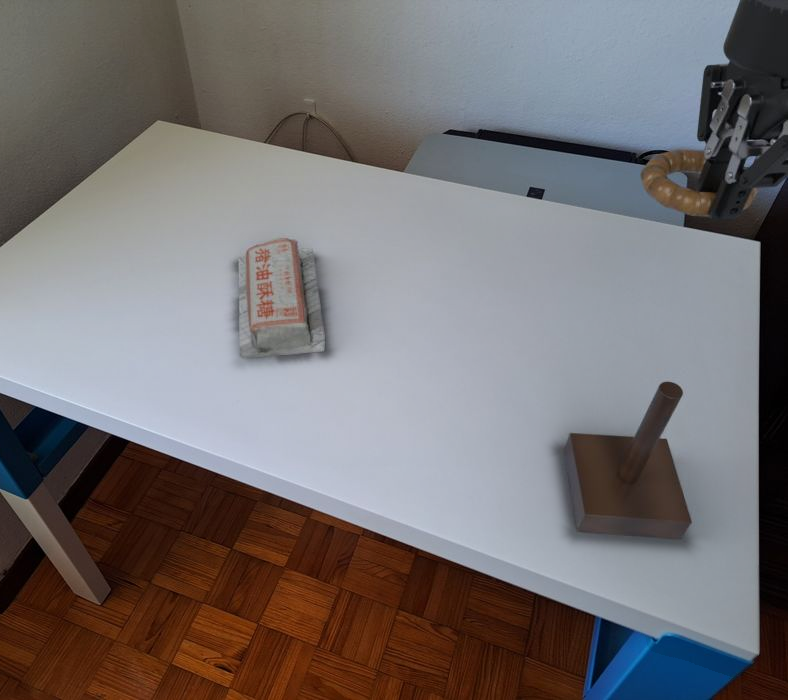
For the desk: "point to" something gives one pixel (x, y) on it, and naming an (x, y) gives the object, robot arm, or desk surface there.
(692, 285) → the desk surface
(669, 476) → the peg stand
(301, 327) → the packaged product
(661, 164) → the segmented donut ring
